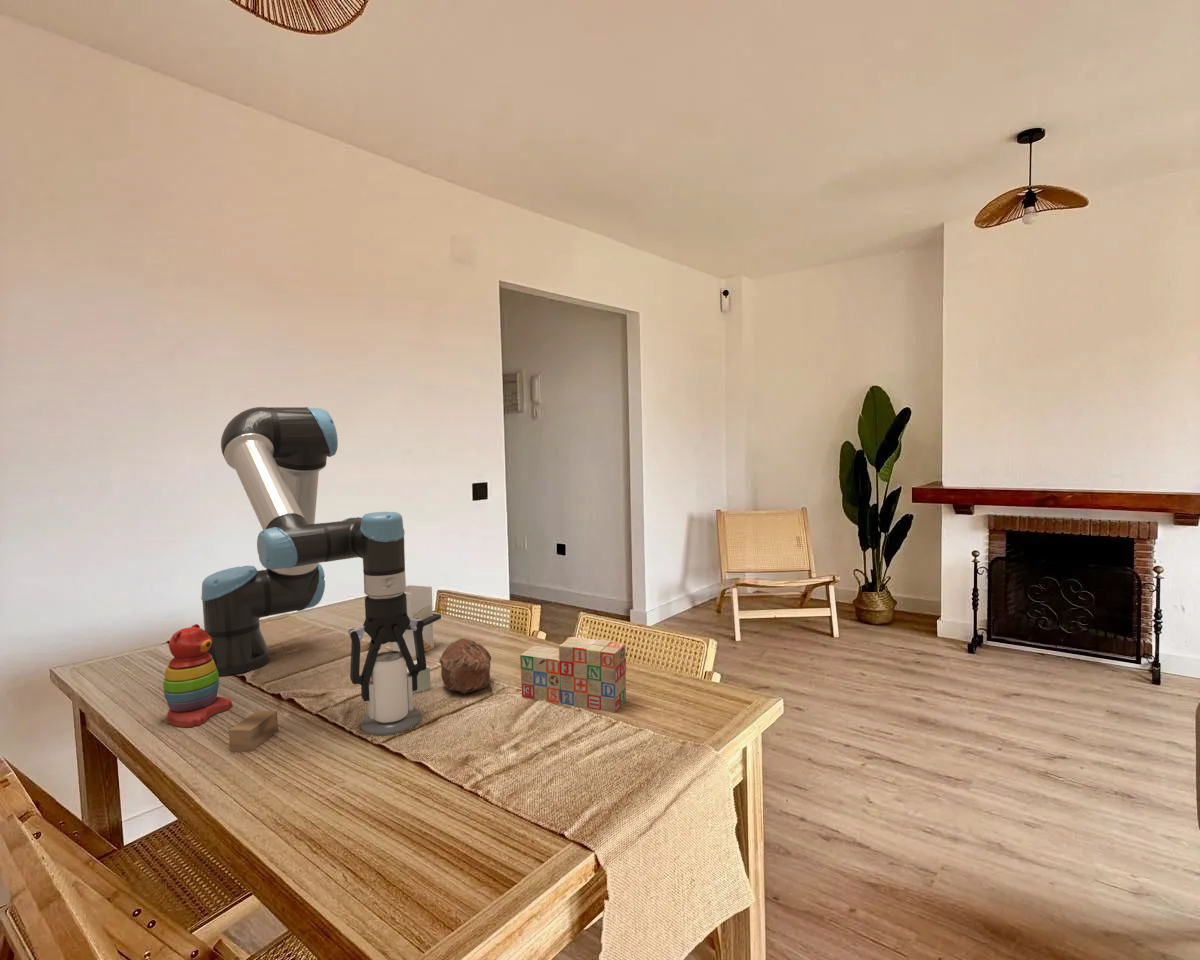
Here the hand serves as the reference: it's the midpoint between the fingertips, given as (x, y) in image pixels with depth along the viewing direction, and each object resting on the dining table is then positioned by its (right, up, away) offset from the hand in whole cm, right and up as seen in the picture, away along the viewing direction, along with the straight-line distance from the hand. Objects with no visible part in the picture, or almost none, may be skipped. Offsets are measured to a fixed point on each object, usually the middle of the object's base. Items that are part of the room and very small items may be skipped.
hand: (390, 711), depth 123 cm
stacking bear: (-41, -3, +5) cm, 41 cm away
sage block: (-1, -1, +16) cm, 16 cm away
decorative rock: (+11, -1, +17) cm, 20 cm away
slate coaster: (0, -2, 0) cm, 2 cm away
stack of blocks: (+35, -1, +9) cm, 36 cm away
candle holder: (-7, 0, +41) cm, 41 cm away
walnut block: (-23, -3, -6) cm, 24 cm away
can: (0, -1, 0) cm, 1 cm away
